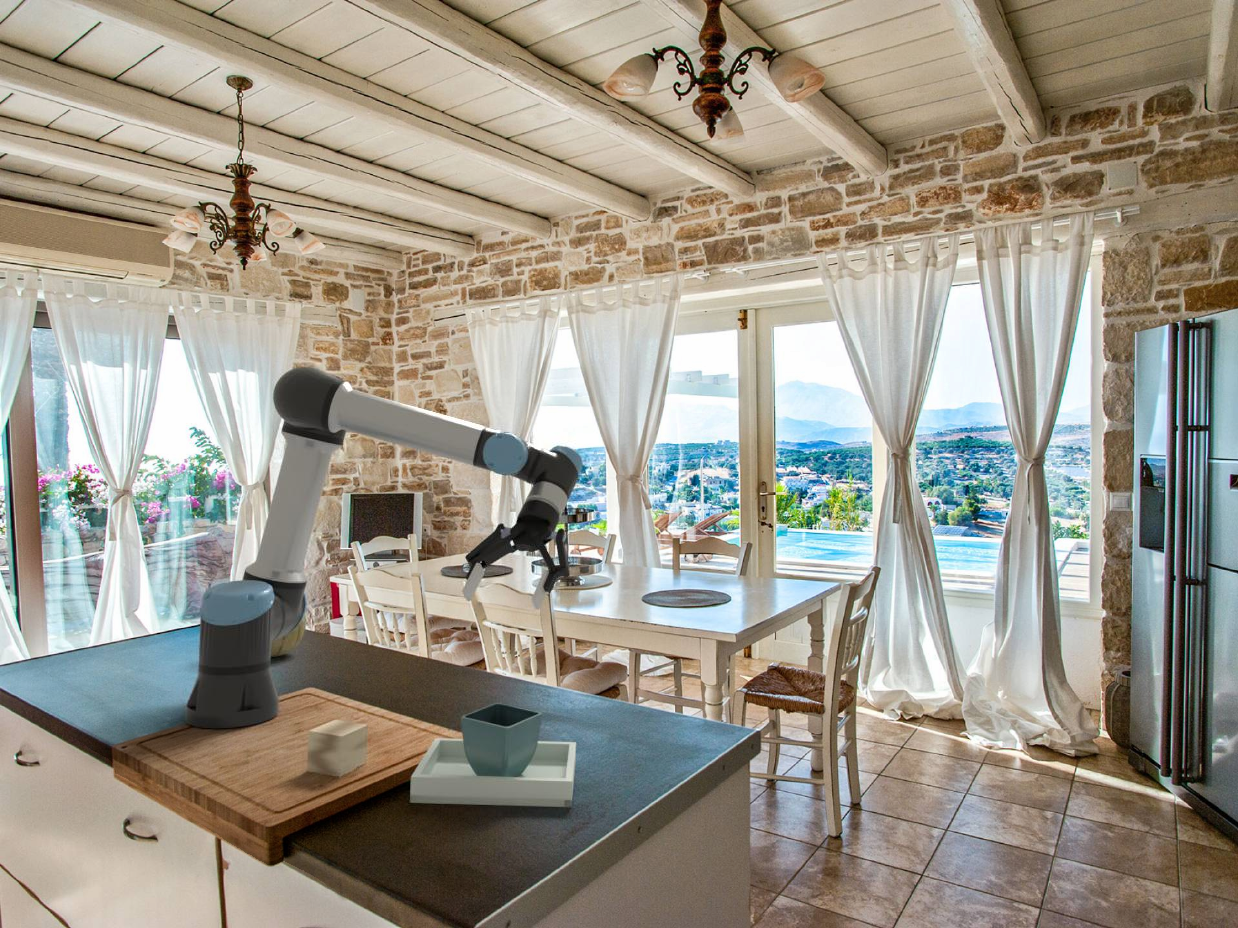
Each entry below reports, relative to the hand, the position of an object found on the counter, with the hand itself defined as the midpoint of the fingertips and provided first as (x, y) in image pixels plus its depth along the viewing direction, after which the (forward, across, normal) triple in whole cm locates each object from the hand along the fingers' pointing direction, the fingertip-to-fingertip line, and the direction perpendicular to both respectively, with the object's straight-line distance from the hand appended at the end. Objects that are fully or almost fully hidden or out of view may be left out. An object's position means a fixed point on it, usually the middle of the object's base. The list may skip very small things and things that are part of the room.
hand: (500, 600), depth 138 cm
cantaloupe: (-1, +74, -36) cm, 82 cm away
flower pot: (+29, -12, -2) cm, 31 cm away
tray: (+30, -12, -2) cm, 32 cm away
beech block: (+34, +13, +1) cm, 36 cm away
